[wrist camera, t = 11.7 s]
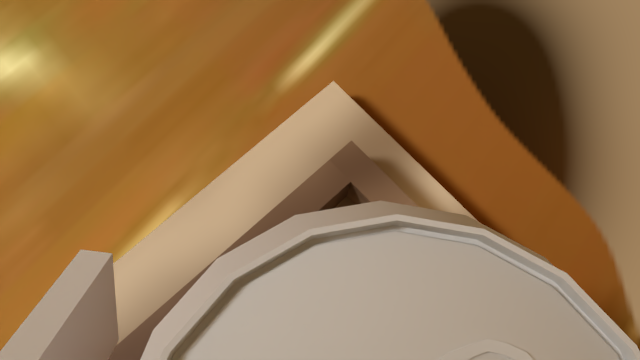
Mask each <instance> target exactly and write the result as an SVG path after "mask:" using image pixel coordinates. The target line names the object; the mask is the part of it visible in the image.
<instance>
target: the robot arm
mask: <svg viewBox="0 0 640 360" xmlns="http://www.w3.org/2000/svg"><path fill="white" fill-rule="evenodd" d="M118 341H119V335H118V322H117V309H116V296H115V282H114V269H113V256H112V253H104V252H96V251H88V250H80V251H79V253H78V254H77V255H76V256H75V258H74V259H73V260H72V261H71V263H70V264H69V265H68V267H67V268H66V269H65V270H64V272H63V273H62V274H61V275H60V277H59V278H58V279H57V280H56V282H55V283H54V284H53V285H52V287H51V288H50V289H49V290H48V292H47V293H46V294H45V296H44V297H43V298H42V299H41V301H40V302H39V303H38V304H37V306H36V307H35V308H34V309H33V311H32V312H31V313H30V314H29V316H28V317H27V318H26V320H25V321H24V322H23V323H22V325H21V326H20V327H19V328H18V330H17V331H16V332H15V333H14V335H13V336H12V337H11V338H10V340H9V341H8V342H7V344H6V345H5V346H4V347H3V349H2V350H1V351H0V360H108V359H109V357H110V355H111V353H112V352H113V350H114V348H115V346H116V344H117V342H118Z"/></svg>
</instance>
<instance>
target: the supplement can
mask: <svg viewBox="0 0 640 360" xmlns="http://www.w3.org/2000/svg"><path fill="white" fill-rule="evenodd" d="M140 360H640V351H639V349H638V347H637V345H636V344H635V343H634V342H633V341H632V340H631V339H630V338H629V337H628V336H627V335H626V334H625V333H624V332H623V331H622V330H621V329H620V328H619V327H618V326H617V325H616V324H615V323H614V321H613V320H612V319H611V318H610V317H609V316H608V315H607V314H606V313H605V312H604V311H603V310H602V309H601V308H600V307H599V306H598V305H597V304H596V303H595V302H594V301H593V300H592V299H591V298H590V297H589V296H588V295H587V294H586V293H585V292H584V291H583V290H582V288H581V287H580V286H579V285H578V284H577V283H576V282H575V281H574V280H573V279H572V278H571V277H570V276H569V275H568V274H567V273H565V272H563V271H561V270H560V269H558V268H556V267H554V266H553V265H552V264H551V263H550V262H549V261H548V260H547V259H546V258H545V257H543V256H541V255H539V254H537V253H535V252H533V251H532V250H530V249H528V248H526V247H524V246H522V245H520V244H519V243H517V242H515V241H513V240H511V239H509V238H507V237H506V236H504V235H502V234H500V233H498V232H496V231H494V230H493V229H491V228H489V227H487V226H485V225H483V224H481V223H480V222H478V221H476V220H474V219H472V218H470V217H468V216H467V215H462V214H457V213H451V212H445V211H439V210H433V209H427V208H421V207H416V206H410V205H404V204H398V203H392V202H386V201H375V202H369V203H363V204H357V205H351V206H345V207H339V208H333V209H328V210H322V211H316V212H310V213H304V214H298V215H294V216H293V217H291V218H289V219H287V220H285V221H284V222H282V223H280V224H278V225H276V226H275V227H273V228H271V229H269V230H267V231H266V232H264V233H262V234H260V235H258V236H257V237H255V238H253V239H251V240H250V241H248V242H246V243H244V244H242V245H241V246H239V247H237V248H235V249H233V250H232V251H230V252H228V253H226V254H224V255H223V256H221V257H219V258H217V259H216V260H215V262H214V263H213V264H212V265H211V266H210V267H209V268H208V269H207V270H206V272H205V273H204V274H203V275H202V276H201V277H200V278H199V279H198V280H197V282H196V283H195V284H194V285H193V286H192V287H191V288H190V289H189V291H188V292H187V293H186V294H185V295H184V296H183V297H182V298H181V299H180V301H179V302H178V303H177V304H176V305H175V306H174V307H173V308H172V309H171V311H170V312H169V313H168V314H167V315H166V316H165V317H164V318H163V320H162V321H161V322H160V323H159V324H158V325H157V326H156V327H155V328H154V330H153V332H152V334H151V336H150V338H149V341H148V343H147V345H146V348H145V350H144V352H143V354H142V357H141V359H140Z"/></svg>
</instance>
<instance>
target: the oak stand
mask: <svg viewBox="0 0 640 360" xmlns="http://www.w3.org/2000/svg"><path fill="white" fill-rule="evenodd" d="M375 201H386V202H392V203H398V204H404V205H410V206H416V207H421V208H427V209H433V210H439V211H445V212H451V213H457V214H462V215H467V216H468V217H470V218H472V219H474V220H476V219H475V218H474V217H473V216H472V215H471V214H470V213H469V212H468V211H467V210H466V209H465V208H464V207H463V206H462V205H461V204H460V203H459V202H458V201H457V200H456V199H455V198H454V197H453V196H452V195H451V194H450V193H449V192H447V191H446V190H445V189H444V188H443V187H442V186H441V185H440V184H439V183H438V182H437V181H436V180H435V179H434V178H433V177H432V176H431V175H430V174H429V173H428V172H427V171H426V170H425V169H424V168H423V167H422V166H421V165H420V164H419V163H418V162H417V161H416V160H414V159H413V158H412V157H411V156H410V155H409V154H408V153H407V152H406V151H405V150H404V149H403V148H402V147H401V146H400V145H399V144H398V143H397V142H396V141H395V140H394V139H393V138H392V137H391V136H390V135H389V134H388V133H387V132H386V131H385V130H384V129H382V128H381V127H380V126H379V125H378V124H377V123H376V122H375V121H374V120H373V119H372V118H371V117H370V116H369V115H368V114H367V113H366V112H365V111H364V110H363V109H362V108H361V107H360V106H359V105H358V104H357V103H356V102H355V101H354V100H353V99H352V98H351V97H349V96H348V95H347V94H346V93H345V92H344V91H343V90H342V89H341V88H340V87H339V86H338V85H337V84H336V83H335V82H334V81H333V82H332V83H330V84H329V85H328V86H327V87H326V88H324V89H323V90H322V91H321V92H320V93H318V94H317V95H316V96H315V97H314V98H312V99H311V100H310V101H309V102H307V103H306V104H305V105H304V106H303V107H301V108H300V109H299V110H298V111H297V112H295V113H294V114H293V115H292V116H291V117H289V118H288V119H287V120H286V121H285V122H283V123H282V124H281V125H280V126H279V127H277V128H276V129H275V130H274V131H273V132H271V133H270V134H269V135H268V136H267V137H265V138H264V139H263V140H262V141H261V142H259V143H258V144H257V145H256V146H255V147H253V148H252V149H251V150H250V151H249V152H247V153H246V154H245V155H244V156H243V157H241V158H240V159H239V160H238V161H236V162H235V163H234V164H233V165H232V166H230V167H229V168H228V169H227V170H226V171H224V172H223V173H222V174H221V175H220V176H218V177H217V178H216V179H215V180H214V181H212V182H211V183H210V184H209V185H208V186H206V187H205V188H204V189H203V190H202V191H200V192H199V193H198V194H197V195H196V196H194V197H193V198H192V199H191V200H190V201H188V202H187V203H186V204H185V205H184V206H182V207H181V208H180V209H179V210H178V211H176V212H175V213H174V214H173V215H172V216H170V217H169V218H168V219H167V220H165V221H164V222H163V223H162V224H161V225H159V226H158V227H157V228H156V229H155V230H153V231H152V232H151V233H150V234H149V235H147V236H146V237H145V238H144V239H143V240H141V241H140V242H139V243H138V244H137V245H135V246H134V247H133V248H132V249H131V250H129V251H128V252H127V253H126V254H125V255H123V256H122V257H121V258H120V259H119V260H117V261H116V262H115V263H114V264H113V269H114V282H115V296H116V309H117V322H118V335H119V341H118V342H117V344H116V346H115V348H114V350H113V352H112V353H111V355H110V357H109V359H108V360H140V359H141V357H142V354H143V352H144V350H145V348H146V345H147V343H148V341H149V338H150V336H151V334H152V332H153V330H154V328H155V327H156V326H157V325H158V324H159V323H160V322H161V321H162V320H163V318H164V317H165V316H166V315H167V314H168V313H169V312H170V311H171V309H172V308H173V307H174V306H175V305H176V304H177V303H178V302H179V301H180V299H181V298H182V297H183V296H184V295H185V294H186V293H187V292H188V291H189V289H190V288H191V287H192V286H193V285H194V284H195V283H196V282H197V280H198V279H199V278H200V277H201V276H202V275H203V274H204V273H205V272H206V270H207V269H208V268H209V267H210V266H211V265H212V264H213V263H214V262H215V260H216V259H217V258H219V257H221V256H223V255H224V254H226V253H228V252H230V251H232V250H233V249H235V248H237V247H239V246H241V245H242V244H244V243H246V242H248V241H250V240H251V239H253V238H255V237H257V236H258V235H260V234H262V233H264V232H266V231H267V230H269V229H271V228H273V227H275V226H276V225H278V224H280V223H282V222H284V221H285V220H287V219H289V218H291V217H293V216H294V215H298V214H304V213H310V212H316V211H322V210H328V209H333V208H339V207H345V206H351V205H357V204H363V203H369V202H375ZM476 221H477V220H476Z"/></svg>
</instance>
